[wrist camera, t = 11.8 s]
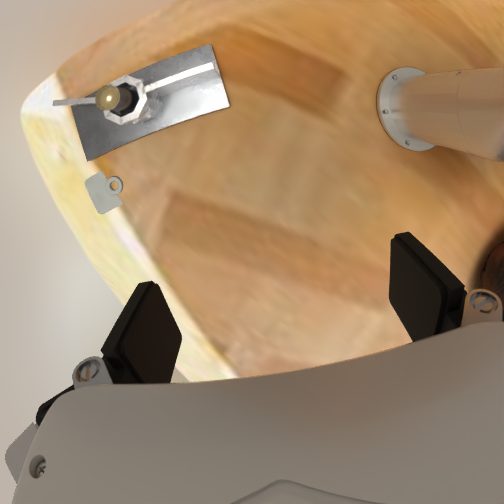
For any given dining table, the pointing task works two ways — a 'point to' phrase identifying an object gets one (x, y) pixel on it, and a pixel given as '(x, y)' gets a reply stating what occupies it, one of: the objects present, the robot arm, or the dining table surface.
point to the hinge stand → (167, 103)
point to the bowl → (494, 273)
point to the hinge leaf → (92, 102)
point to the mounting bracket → (103, 192)
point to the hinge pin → (116, 99)
